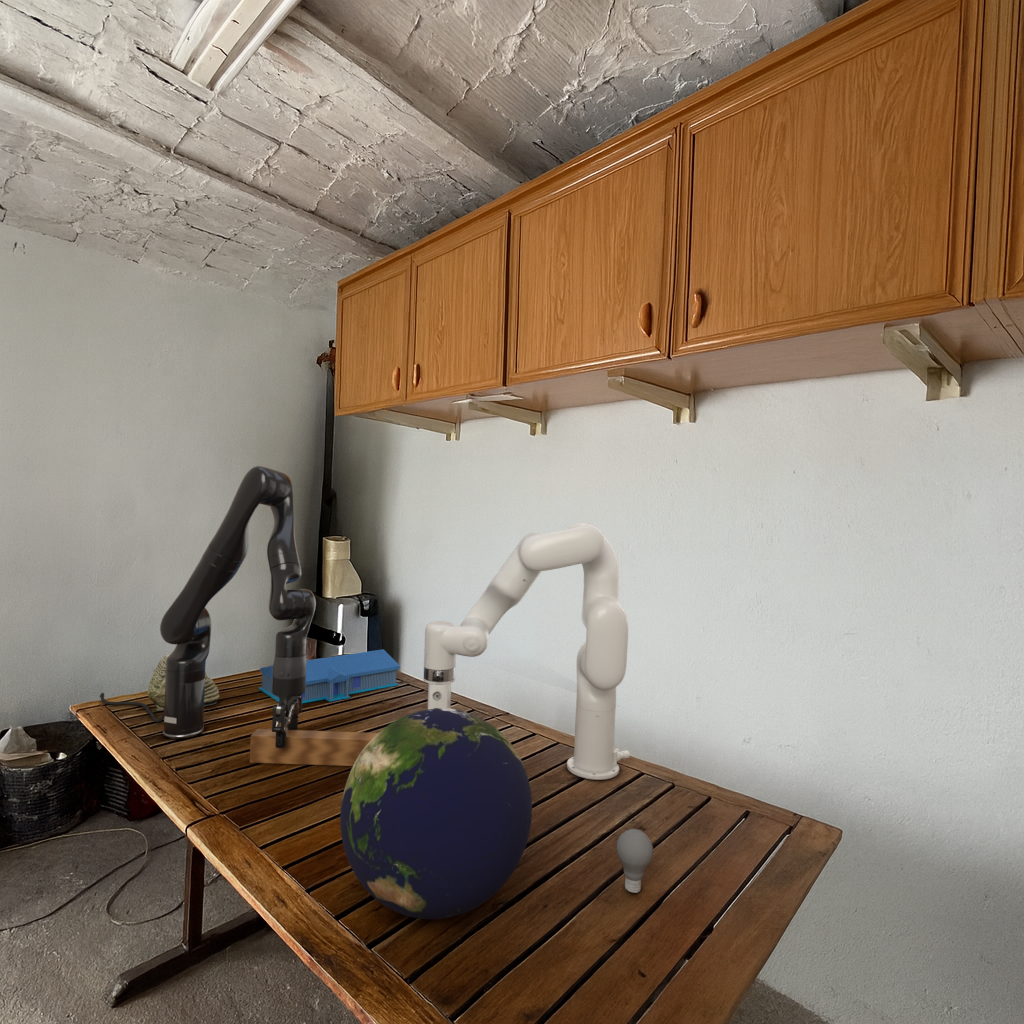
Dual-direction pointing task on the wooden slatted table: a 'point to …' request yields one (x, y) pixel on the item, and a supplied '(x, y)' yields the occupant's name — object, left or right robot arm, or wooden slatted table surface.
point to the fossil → (158, 687)
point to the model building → (341, 676)
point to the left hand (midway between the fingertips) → (286, 740)
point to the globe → (436, 813)
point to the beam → (309, 747)
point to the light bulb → (634, 857)
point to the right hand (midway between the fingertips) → (437, 744)
